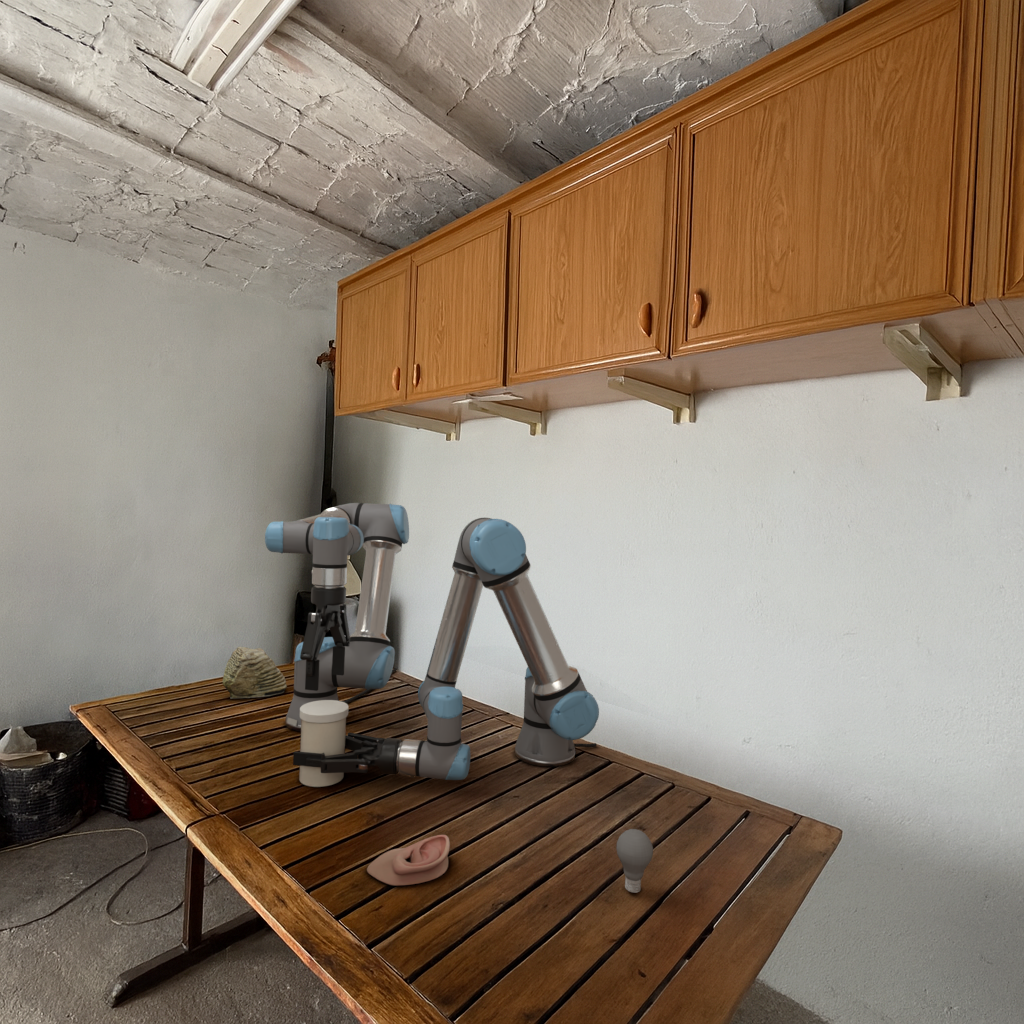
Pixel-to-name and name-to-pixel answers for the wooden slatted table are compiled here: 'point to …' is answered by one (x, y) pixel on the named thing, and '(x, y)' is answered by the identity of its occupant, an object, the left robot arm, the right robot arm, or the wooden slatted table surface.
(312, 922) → the wooden slatted table surface
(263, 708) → the wooden slatted table surface
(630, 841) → the light bulb
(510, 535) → the right robot arm
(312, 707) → the lid
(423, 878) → the anatomical model
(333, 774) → the jar
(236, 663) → the fossil
